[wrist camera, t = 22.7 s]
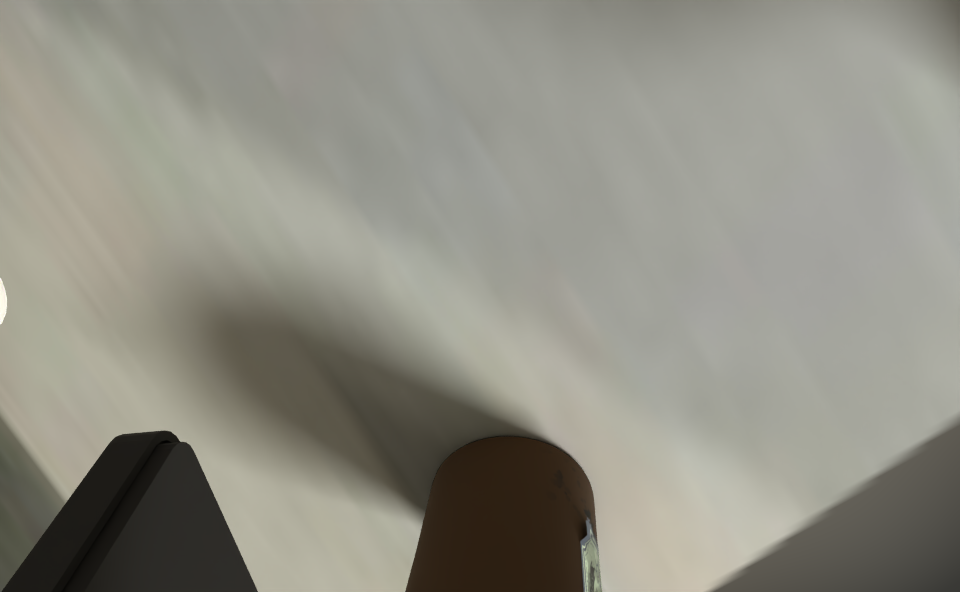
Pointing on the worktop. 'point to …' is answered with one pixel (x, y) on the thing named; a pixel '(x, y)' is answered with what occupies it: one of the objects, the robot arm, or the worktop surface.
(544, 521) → the olive oil
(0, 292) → the cylindrical container
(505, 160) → the worktop surface
